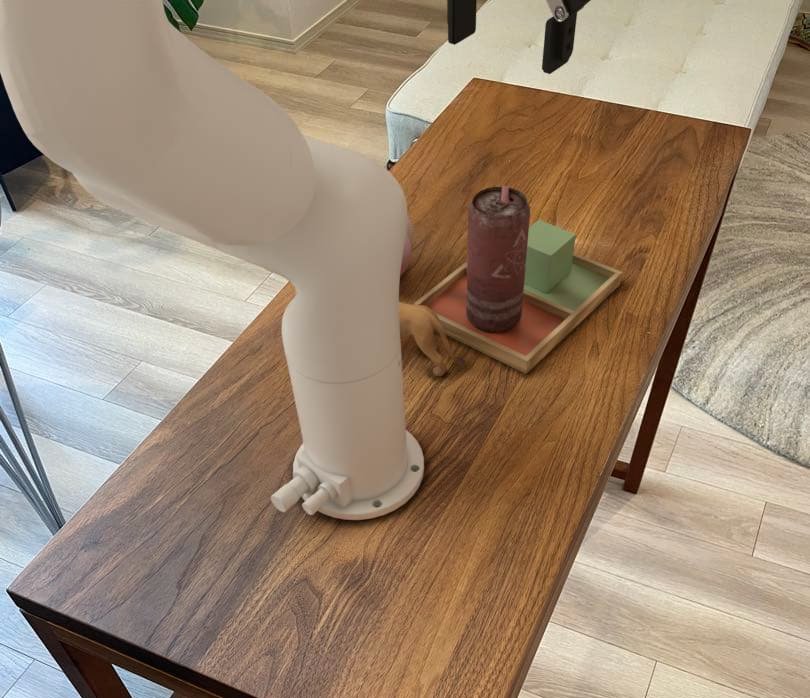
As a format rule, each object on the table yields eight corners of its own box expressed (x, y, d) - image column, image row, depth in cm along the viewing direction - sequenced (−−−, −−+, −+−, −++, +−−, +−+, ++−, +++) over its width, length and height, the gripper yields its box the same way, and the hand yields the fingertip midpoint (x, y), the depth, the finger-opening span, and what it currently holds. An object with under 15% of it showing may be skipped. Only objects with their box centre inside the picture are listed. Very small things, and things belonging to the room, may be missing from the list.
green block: (546, 294, 94) (551, 255, 90) (510, 278, 97) (513, 239, 93) (571, 272, 97) (576, 234, 93) (535, 257, 99) (538, 219, 95)
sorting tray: (526, 374, 88) (527, 361, 86) (412, 318, 94) (411, 305, 93) (620, 285, 96) (622, 271, 95) (509, 239, 103) (510, 226, 101)
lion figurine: (329, 358, 91) (319, 289, 83) (346, 328, 94) (337, 258, 86) (459, 382, 87) (460, 312, 80) (472, 350, 90) (474, 279, 83)
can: (521, 299, 94) (531, 182, 83) (520, 335, 90) (530, 218, 79) (467, 297, 95) (470, 181, 84) (464, 333, 91) (466, 217, 80)
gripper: (662, -213, 55) (619, 61, 69) (454, -240, 62) (453, 13, 76) (601, -185, 52) (569, 97, 65) (389, -217, 59) (401, 44, 72)
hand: (507, 52), depth 71 cm, fingers open, 9 cm apart
